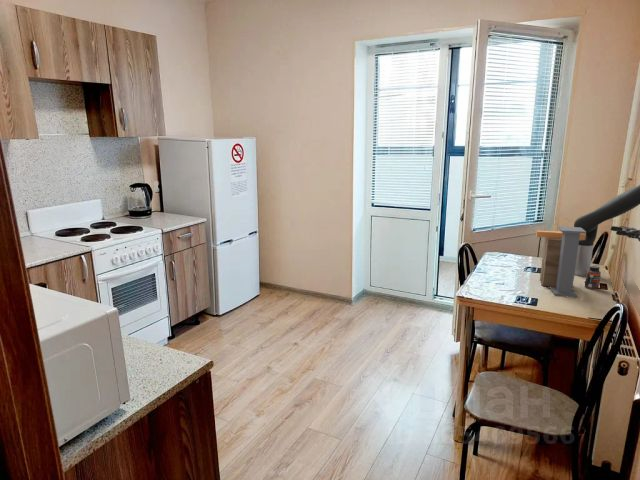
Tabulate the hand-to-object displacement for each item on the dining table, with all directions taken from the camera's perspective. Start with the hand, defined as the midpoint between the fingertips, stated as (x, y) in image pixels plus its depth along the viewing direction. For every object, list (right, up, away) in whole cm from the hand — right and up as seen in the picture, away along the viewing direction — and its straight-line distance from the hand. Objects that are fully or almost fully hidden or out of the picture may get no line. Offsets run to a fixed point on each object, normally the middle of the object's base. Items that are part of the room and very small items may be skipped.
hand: (613, 230), depth 208 cm
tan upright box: (-21, -28, +16) cm, 38 cm away
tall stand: (-23, -31, +3) cm, 39 cm away
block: (-21, -4, +10) cm, 23 cm away
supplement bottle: (-5, -30, +10) cm, 32 cm away
